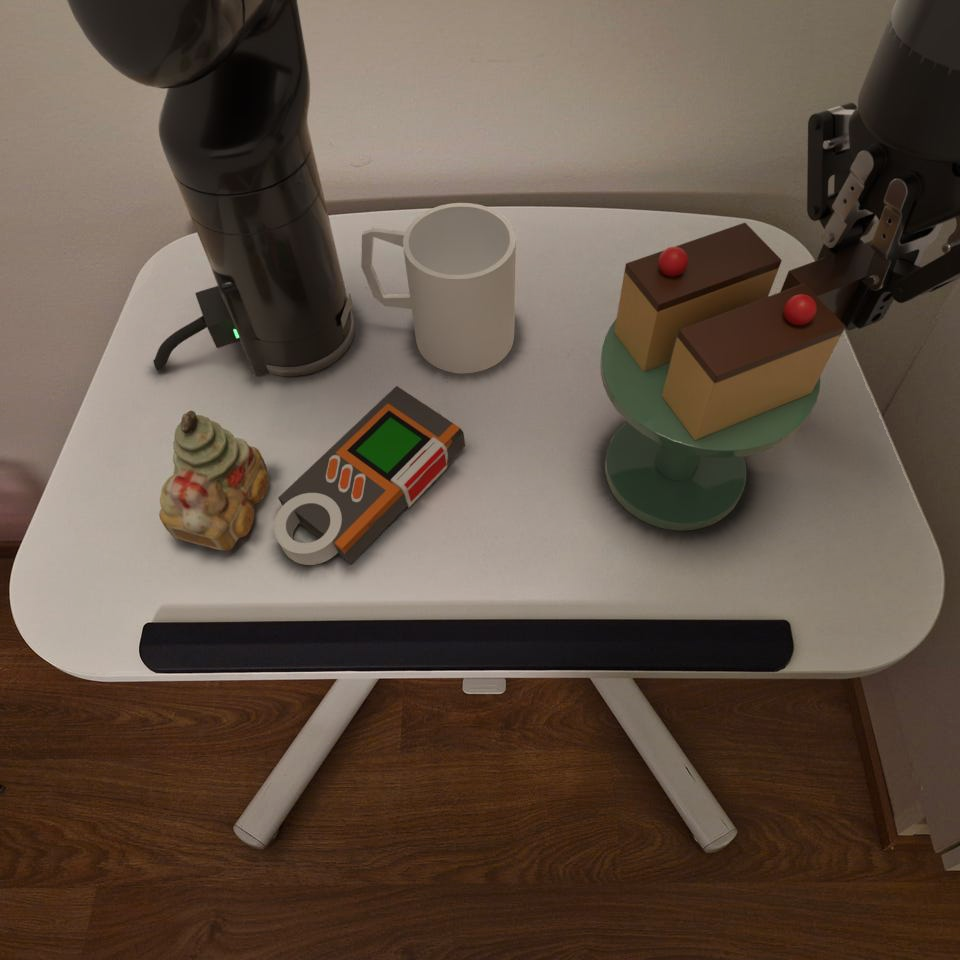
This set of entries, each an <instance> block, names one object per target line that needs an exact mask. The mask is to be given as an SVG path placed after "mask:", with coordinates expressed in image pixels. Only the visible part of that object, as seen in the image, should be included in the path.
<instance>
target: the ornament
mask: <svg viewBox="0 0 960 960" xmlns="http://www.w3.org/2000/svg"><path fill="white" fill-rule="evenodd" d="M172 446H173V447H172V448H173V454H172V462H173V464H174V467H173V474H172V475H171V476H170V477H168V479H167V480H166V481H165V482H164V483H163V485H162V487H161V492H160V496H159V504H160V507H161V508H160V511H159V513H158V516H159V520H160V522H161V523H162V525H163V526H164V528H165V530H166V531H167V532H168V533H169V534H170V535H171V536H172V537H173V538H175V539H178V540H180V541H182V542H187V543H190V544H194V545H198V546H202V547H207V548H209V549H212V550H216V551H217V550H218V551H221V552H223V551H224V552H228V551H230V550H232V549H233V548H234V546H236V544H237V542H238V540H240V539H241V538H243V537H246V536H247V535H248V534H249V533H250V531H251V529H252V526H253V524H254V520H255V508H254V506H253V505H255V504H257V503H259V502H261V501H262V500H263V498H264V497H265V495H266V493H267V491H268V488H269V484H270V483H269V475H268V473H267V472H268V468H267V464H266V462H265V460H264V457H263V456H262V454H261V452H260V450H259V449H258V448H257V447H255V446H250V445H249V444H248V442H247V441H246V440H245V439H244V438H240V437H235V436H234V434H233V433H232V432H231V431H230V430H228V429H226V428H224V427H222V425H220V423H219V422H217V421H215V420H211V419H210V417H208V416H206V415H202V414H196V412H195V411H194V410H188V411H187V412H185V413H183V414H182V416H181V421H180V422H179V423H178V425H176V428H175V430H174V439H173V445H172Z"/></svg>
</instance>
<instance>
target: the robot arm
mask: <svg viewBox="0 0 960 960" xmlns="http://www.w3.org/2000/svg"><path fill="white" fill-rule="evenodd" d="M65 1H66V3H67V6H68V8H69V10H70V12H71V14H72V17H73V18H74V20H75V22H76V23H77V25H78V26H79V28H80V29H81V31H82V33H83V34H84V36H85V38H86V39H87V41H88V43H90V44H91V46H92V47H93V48H94V49H95V50H96V52H97V53H98V55H99V56H100V57H101V58H103V60H105V61H106V63H108V64H109V65H110V66H111V67H112V68H113V69H114V70H116V71H117V72H119V73H120V74H121V75H123V76H124V77H126V78H128V79H129V80H131V81H133V82H135V83H138V84H140V85H143V86H145V87H150V88H155V89H162V90H163V89H165V94H164V97H163V101H162V104H161V107H160V111H159V113H158V114H159V115H158V120H157V121H158V122H157V130H158V131H157V134H158V138H159V143H160V145H161V148H162V151H163V154H164V156H165V158H166V161H167V163H168V166H169V168H170V171H171V173H172V174H173V177H174V179H175V182H176V184H177V187H178V189H179V191H180V194H181V197H182V199H183V202H184V205H185V207H186V209H187V212H188V214H189V216H190V219H191V221H192V223H193V226H194V229H195V231H196V233H197V236H198V238H199V241H200V243H201V246H202V249H203V251H204V253H205V256H206V258H207V260H208V263H209V266H210V269H211V271H212V274H213V277H214V280H215V282H216V284H217V285H215V286H213V287H208V288H207V289H203V290H200V291H197V292H195V293H194V294H195V297H196V300H197V302H198V305H199V308H200V311H201V314H202V315H201V316H199V317H198V318H196V319H195V320H193V321H191V322H190V323H188V324H186V325H184V326H183V327H181V328H180V329H177V330H176V331H175V332H173V333H172V334H170V336H168V337H167V338H166V339H165V340H164V341H163V342H161V345H160V346H159V347H158V349H157V352H156V355H155V357H154V359H153V365H154V368H155V370H156V371H158V372H159V371H161V370H163V369H164V368H165V367H166V366H167V364H168V360H169V357H170V356H171V354H172V352H173V351H174V350H175V349H176V348H177V347H178V346H179V345H181V344H182V343H183V342H185V341H187V340H188V339H190V338H191V337H193V336H195V335H196V334H199V333H200V332H202V331H203V330H206V329H207V330H208V332H209V335H210V337H211V339H212V341H213V344H214V345H215V348H216V349H220V348H223V347H227V346H229V345H232V344H235V343H238V342H240V345H241V347H242V350H243V352H244V354H245V356H246V358H247V361H248V363H249V365H250V367H251V370H252V372H253V375H254V376H255V377H260V376H264V375H266V374H271V375H276V376H281V377H282V376H283V377H298V376H305V375H311V374H312V373H316V372H319V371H321V370H324V369H325V368H327V367H329V366H331V365H332V364H334V363H336V362H338V360H340V358H341V357H343V356H344V354H345V353H346V352H347V351H348V349H349V348H350V346H351V344H352V343H353V340H354V337H355V331H356V327H355V326H356V325H355V319H354V315H353V311H352V309H351V308H352V305H353V298H352V293H351V292H349V294H347V291H346V286H345V282H344V278H343V273H342V269H341V264H340V261H339V256H338V250H337V247H336V243H335V238H334V234H333V229H332V225H331V221H330V217H329V212H328V207H327V204H326V199H325V194H324V191H323V186H322V181H321V178H320V173H319V169H318V164H317V160H316V155H315V151H314V147H313V146H314V145H313V143H312V138H311V137H312V136H311V133H310V128H309V122H308V115H309V109H310V100H311V77H310V67H309V60H308V56H307V49H306V44H305V38H304V32H303V24H302V20H301V13H300V8H299V2H298V0H65ZM806 171H807V174H806V175H807V177H806V180H807V181H806V183H807V184H806V187H807V188H806V212H807V215H808V218H809V219H810V220H811V221H813V222H817V221H819V223H820V224H821V227H822V228H823V230H822V234H821V239H822V242H823V245H822V247H821V248H820V251H819V253H818V255H817V258H816V260H815V261H817V260H820V259H822V258H825V257H828V256H830V255H833V254H836V253H839V252H841V251H844V250H847V249H850V248H852V247H855V246H858V245H861V244H863V243H865V242H864V241H863V240H862V239H861V238H863V237H866V236H868V235H869V234H870V232H871V230H872V228H873V227H874V226H875V224H876V223H877V221H878V223H877V225H876V229H875V232H874V235H873V237H872V243H871V248H872V249H874V250H875V252H874V255H873V258H872V260H871V263H870V266H869V268H868V271H867V274H866V279H863V280H861V281H860V283H859V285H858V287H857V289H856V291H855V293H854V295H853V297H852V299H851V301H850V303H849V305H848V307H847V309H846V311H845V313H844V315H843V317H842V319H841V322H842V323H843V324H844V325H845V326H846V327H845V329H846V331H852V330H854V329H858V330H860V329H863V328H866V327H868V326H870V325H873V324H876V323H878V322H879V321H881V320H882V319H884V318H885V317H886V314H887V313H888V311H889V309H890V307H891V306H892V304H893V302H894V301H895V302H896V303H899V304H903V303H906V302H909V301H912V300H913V299H915V298H917V297H919V296H923V295H924V294H925V295H926V294H927V293H932V292H934V291H937V290H940V289H941V288H944V287H945V286H947V285H949V284H951V283H953V282H955V281H957V280H959V279H960V0H895V3H894V5H893V8H892V11H891V13H890V15H889V18H888V20H887V23H886V26H885V27H884V30H883V32H882V36H881V38H880V40H879V43H878V45H877V48H876V51H875V53H874V56H873V58H872V60H871V63H870V66H869V68H868V70H867V73H866V75H865V78H864V80H863V83H862V86H861V88H860V91H859V93H858V97H857V104H855V103H854V102H848V103H844V104H841V105H838V106H834V107H832V108H828V109H825V110H822V111H819V112H816V113H813V114H811V115H810V117H809V118H808V121H807V170H806ZM832 176H833V177H834V180H833V181H834V182H833V193H829V181H830V179H831V177H832ZM953 219H955V221H956V225H955V226H956V227H955V230H954V231H953V232H952V233H951V234H950V235H949V236H948V238H947V240H946V243H944V244H942V246H941V251H942V253H943V254H942V255H941V256H939V257H937V258H935V259H933V260H932V261H930V262H928V263H927V264H925V265H922V266H920V264H921V261H922V259H923V258H924V254H925V252H926V250H927V249H928V247H929V246H930V245H932V244H933V243H934V242H935V241H936V239H937V238H938V236H939V234H940V232H941V229H942V227H943V225H944V223H946V222H948V221H951V220H953Z"/></svg>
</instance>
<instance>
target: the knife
mask: <svg viewBox="0 0 960 960" xmlns="http://www.w3.org/2000/svg"><path fill="white" fill-rule="evenodd" d="M872 240H873V239H872ZM872 240H869V241H866V242H864V243H863V244H861V245H858V246H855V247H852V248H850V249H847V250H844V251H841V252H839V253H836V254H833V255H830V256H828V257H825V258H822V259H820V260H817V259H816V260H817V261H816V260H814V261H812V262H809V263H806V264H803V265H801V266H798V267H795V268H792V269H789V270H788V271H787V273H786V276H785V278H784V282H783V284H782V286H781V289H780V291H779V293H780V292H782V291H785V290H788V289H790V288H793V287H796V286H798V285H801V284H805V285H806V286H807V287H808V288H809V289H810V290H811V291H812V292H813V293H814V294H815V295H816V296H817V297H818V298H819V299H820V300H821V301H822V302H823V303H824V304H825V305H826V306H827V307H828V308H829V309H830V310H831V311H832V312H833V313H834V315H835V316H836V317H837V318H838V319H839V320H840V321H841V319H842V317H843V315H844V313H845V311H846V309H847V307H848V305H849V303H850V301H851V299H852V297H853V295H854V293H855V291H856V289H857V287H858V285H859V283H860V281H861V280H863V279H866V274H867V271H868V268H869V266H870V263H871V260H872V258H873V255H874V252H875V250H874V249H872V248H871V243H872ZM678 333H679V332H678ZM678 333H677V337H676V340H677V338H678ZM675 344H676V341H675ZM674 348H675V345H674ZM674 348H673V351H674ZM672 355H673V352H672ZM671 359H672V356H671ZM670 363H671V360H670ZM670 363H669V366H670ZM668 370H669V367H668ZM667 374H668V371H667Z"/></svg>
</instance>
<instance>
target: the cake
mask: <svg viewBox="0 0 960 960" xmlns="http://www.w3.org/2000/svg"><path fill="white" fill-rule="evenodd" d="M782 261H783V260H782V259H781V257H779V255H778V254H777V253H775V251H774V250H773V249H772V248H771V247H770V246H769V245H768V244H767V243H766V242H765V241H764V240H763V239H762V238H761V237H760V236H759V235H758V234H757V233H756V232H755V231H754V229H752V228H751V226H750V225H748V224H747V223H746V222H742V223H739V224H735V225H734V226H731V227H728V228H724V229H722V230H719V231H715V232H713V233H710V234H708V235H705V236H702V237H697V238H695V239H692V240H689V241H687V242H683V243H681V244H679V245H675V246H670V247H666V248H665V249H664V250H661V251H658V252H655V253H652V254H649V255H647V256H644V257H640V258H637V259H635V260H632V261H628V262H626V263H625V266H624V267H625V268H624V273H623V277H622V283H621V289H620V295H619V302H618V307H617V314H616V318H617V319H616V318H615V319H616V325H615V331H614V333H615V334H616V336H617V337H618V338H619V340H620V341H621V342H622V344H623V345H624V346H625V348H626V349H627V350H628V352H629V353H630V354H631V356H632V357H633V358H634V360H635V361H636V363H637V364H638V365H639V367H640V368H641V369H642V371H643V372H645V371H648V370H650V369H653V368H656V367H658V366H661V365H664V364H666V363H669V362H670V360H671V363H670V366H669V370H668V374H667V378H666V381H665V385H664V389H663V393H662V397H663V399H664V400H665V401H666V403H667V404H668V405H669V407H670V408H671V409H672V411H673V412H674V413H675V415H676V416H677V417H678V419H679V420H680V421H681V423H682V424H683V425H684V427H685V428H686V429H687V431H688V432H689V434H690V435H691V436H692V438H693V439H694V440H697V439H700V438H702V437H704V436H707V435H709V434H712V433H714V432H717V431H719V430H722V429H724V428H727V427H729V426H732V425H734V424H737V423H739V422H742V421H744V420H746V419H749V418H751V417H754V416H756V415H759V414H761V413H764V412H766V411H769V410H771V409H774V408H776V407H779V406H781V405H784V404H786V403H789V402H791V401H793V400H796V399H798V398H801V397H803V396H806V395H808V394H811V393H812V391H813V389H814V387H815V385H816V383H817V381H818V379H819V377H820V378H821V376H822V373H823V371H824V370H825V368H826V366H827V363H828V362H829V360H830V359H831V356H832V355H833V353H834V350H835V348H836V346H837V344H838V342H839V341H840V339H841V337H842V334H843V333H844V331H845V329H846V328H845V327H846V326H845V325H844V324H843V323H842V322H841V321H840V320H839V319H838V318H837V317H836V316H835V315H834V313H833V312H832V311H831V310H830V309H829V308H828V307H827V306H826V305H825V304H824V303H823V302H822V301H821V300H820V299H819V298H818V297H817V296H816V295H815V294H814V293H813V292H812V291H811V290H810V289H809V288H808V287H807V286H806V285H805V284H801V285H798V286H796V287H793V288H790V289H788V290H785V291H782V292H780V291H779V292H777V293H774V294H771V295H770V293H771V290H772V287H773V285H774V282H775V280H776V277H777V274H778V272H779V270H780V269H779V268H780V267H781V264H782ZM678 332H679V333H678ZM677 333H678V338H677V340H676V337H677ZM675 341H676V344H675ZM674 345H675V348H674ZM673 348H674V351H673ZM672 352H673V355H672ZM671 356H672V359H671Z"/></svg>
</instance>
